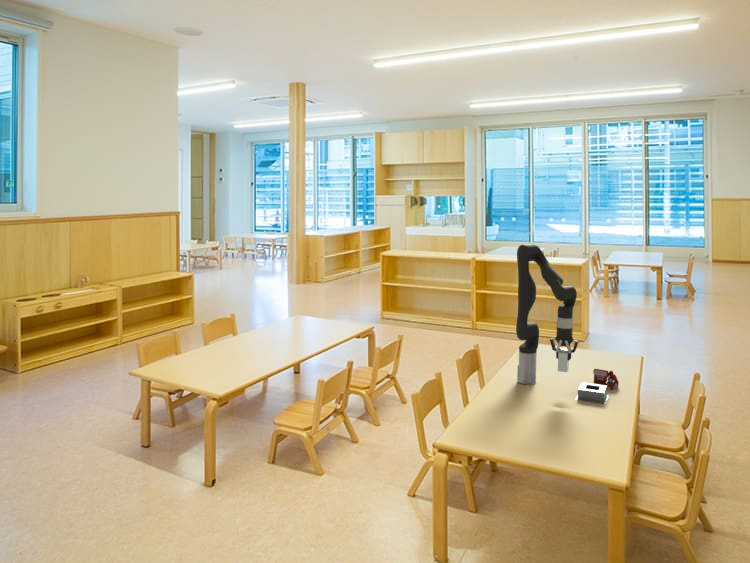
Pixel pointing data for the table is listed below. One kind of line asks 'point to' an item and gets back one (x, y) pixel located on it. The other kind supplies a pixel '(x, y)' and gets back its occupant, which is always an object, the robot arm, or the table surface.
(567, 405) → the table surface
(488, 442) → the table surface
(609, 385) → the toy fire truck
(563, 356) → the brushed square peg
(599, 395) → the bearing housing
